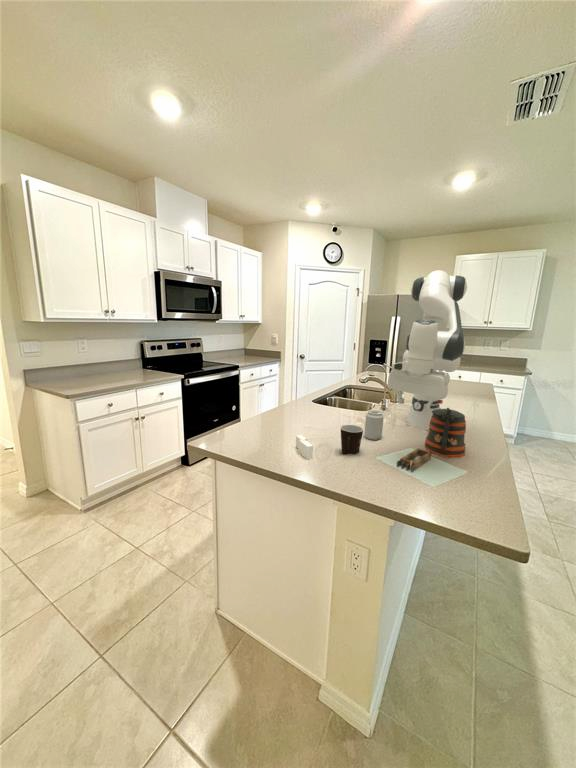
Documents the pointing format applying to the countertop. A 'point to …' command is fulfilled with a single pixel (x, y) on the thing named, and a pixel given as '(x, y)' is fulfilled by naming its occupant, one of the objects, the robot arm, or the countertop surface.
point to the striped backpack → (446, 433)
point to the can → (374, 425)
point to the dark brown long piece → (414, 459)
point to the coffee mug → (351, 439)
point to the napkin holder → (304, 447)
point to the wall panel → (425, 468)
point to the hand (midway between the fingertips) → (413, 406)
